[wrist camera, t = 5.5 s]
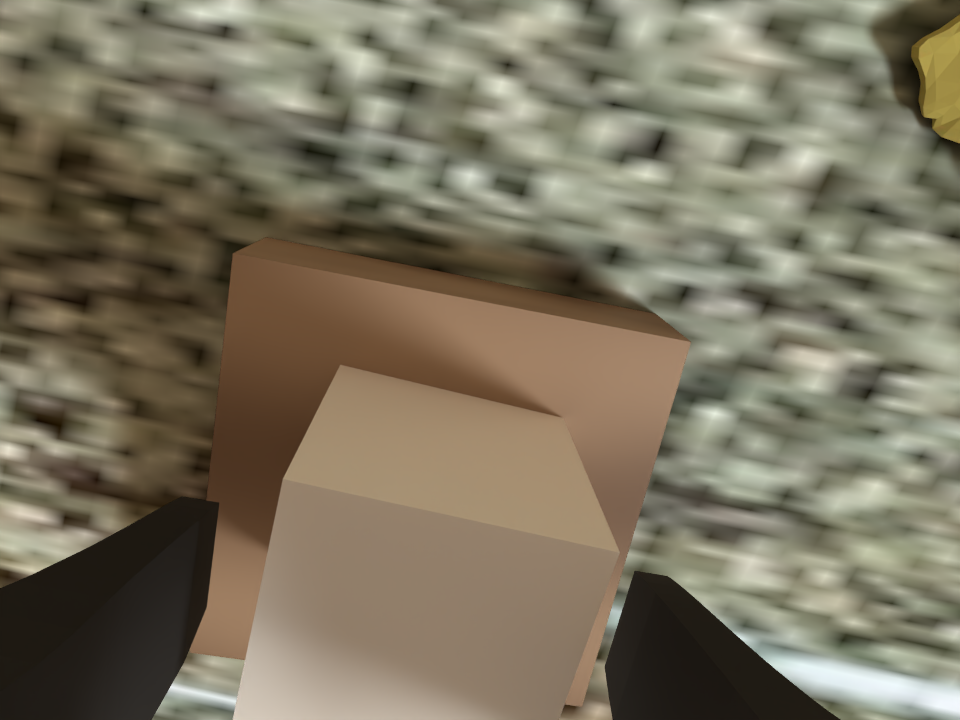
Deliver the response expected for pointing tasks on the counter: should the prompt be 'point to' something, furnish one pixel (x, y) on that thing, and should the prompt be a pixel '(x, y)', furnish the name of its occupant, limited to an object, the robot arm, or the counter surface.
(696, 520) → the counter surface
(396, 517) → the ceramic cube
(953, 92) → the figurine
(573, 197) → the counter surface
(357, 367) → the walnut block
